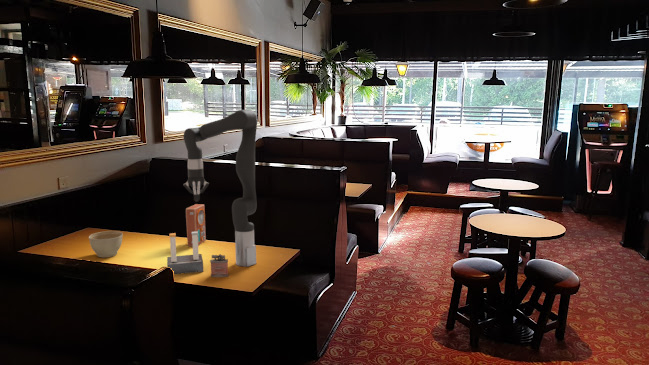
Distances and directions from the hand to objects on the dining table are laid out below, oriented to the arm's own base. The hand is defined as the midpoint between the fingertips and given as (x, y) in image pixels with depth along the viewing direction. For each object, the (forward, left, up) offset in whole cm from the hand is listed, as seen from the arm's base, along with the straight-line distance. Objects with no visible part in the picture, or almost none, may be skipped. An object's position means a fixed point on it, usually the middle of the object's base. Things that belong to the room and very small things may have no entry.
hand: (197, 201), depth 245 cm
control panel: (+20, -14, -29) cm, 38 cm away
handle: (-16, +14, -24) cm, 32 cm away
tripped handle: (-10, +23, -24) cm, 34 cm away
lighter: (-31, +13, -29) cm, 45 cm away
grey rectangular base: (-11, +17, -29) cm, 35 cm away
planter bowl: (+40, +28, -29) cm, 57 cm away
